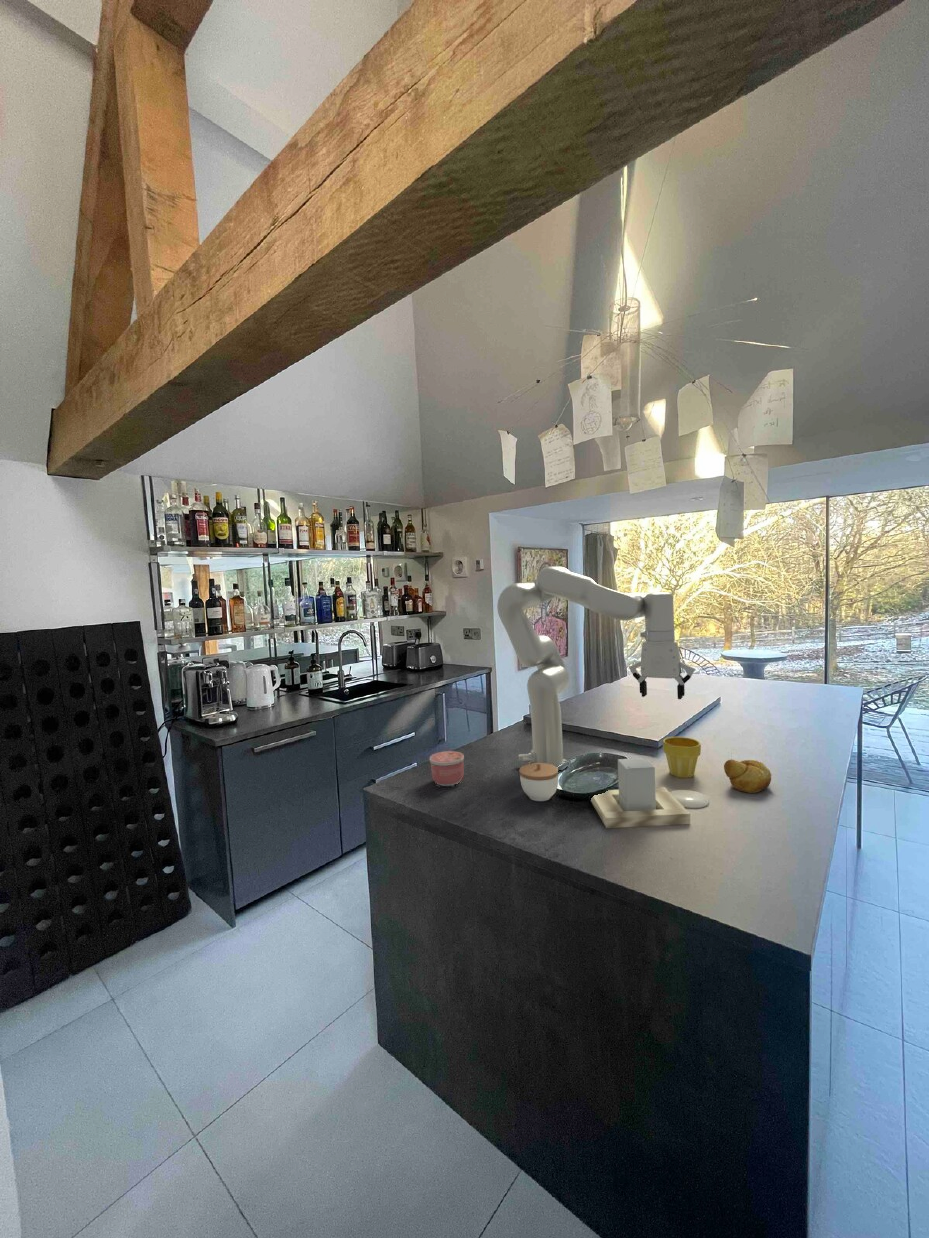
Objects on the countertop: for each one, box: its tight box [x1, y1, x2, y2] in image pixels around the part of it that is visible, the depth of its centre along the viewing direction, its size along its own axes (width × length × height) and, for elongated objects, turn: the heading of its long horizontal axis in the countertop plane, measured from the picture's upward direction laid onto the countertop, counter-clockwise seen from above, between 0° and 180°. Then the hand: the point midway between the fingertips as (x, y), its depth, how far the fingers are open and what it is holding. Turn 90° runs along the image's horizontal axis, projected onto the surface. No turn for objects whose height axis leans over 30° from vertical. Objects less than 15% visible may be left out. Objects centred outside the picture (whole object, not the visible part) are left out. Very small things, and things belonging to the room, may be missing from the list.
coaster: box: [669, 789, 710, 809], centre depth 136 cm, size 10×10×1 cm
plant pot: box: [662, 736, 702, 779], centre depth 153 cm, size 10×10×10 cm
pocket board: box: [590, 786, 691, 829], centre depth 131 cm, size 20×16×2 cm
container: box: [429, 750, 465, 785], centre depth 157 cm, size 10×10×8 cm
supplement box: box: [617, 757, 656, 811], centre depth 130 cm, size 7×7×13 cm
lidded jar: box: [518, 763, 559, 802], centre depth 143 cm, size 11×11×9 cm
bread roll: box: [723, 758, 772, 794], centre depth 141 cm, size 13×10×8 cm
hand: (661, 697), depth 145 cm, fingers open, 9 cm apart
